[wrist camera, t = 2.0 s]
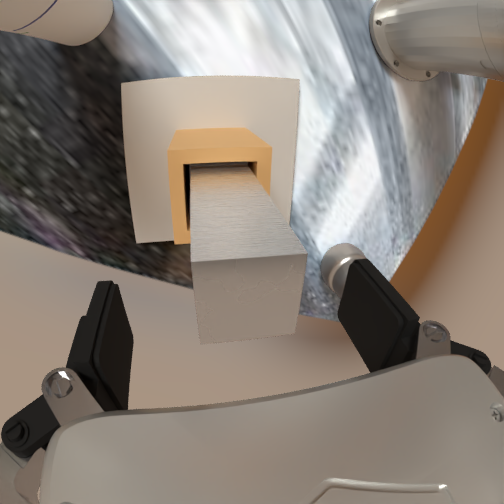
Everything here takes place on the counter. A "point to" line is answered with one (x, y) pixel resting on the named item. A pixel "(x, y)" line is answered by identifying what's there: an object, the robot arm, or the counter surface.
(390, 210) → the counter surface
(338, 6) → the counter surface
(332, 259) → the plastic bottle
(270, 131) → the stand base
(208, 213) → the steel column
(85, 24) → the cylindrical container
